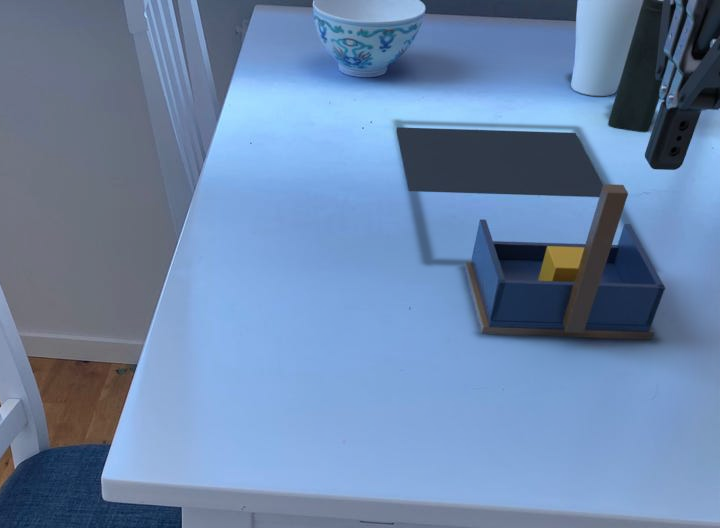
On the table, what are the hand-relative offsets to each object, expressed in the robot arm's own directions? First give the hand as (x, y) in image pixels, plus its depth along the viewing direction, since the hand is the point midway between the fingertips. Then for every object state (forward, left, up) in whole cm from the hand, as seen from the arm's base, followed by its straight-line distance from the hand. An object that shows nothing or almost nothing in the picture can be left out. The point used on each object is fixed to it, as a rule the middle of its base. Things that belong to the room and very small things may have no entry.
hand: (661, 164), depth 64 cm
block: (0, -12, -16) cm, 20 cm away
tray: (0, -13, -17) cm, 22 cm away
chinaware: (+14, -79, -19) cm, 82 cm away
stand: (0, -14, -19) cm, 23 cm away
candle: (-19, -62, -19) cm, 67 cm away
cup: (-17, -74, -19) cm, 78 cm away
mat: (0, -39, -19) cm, 43 cm away
